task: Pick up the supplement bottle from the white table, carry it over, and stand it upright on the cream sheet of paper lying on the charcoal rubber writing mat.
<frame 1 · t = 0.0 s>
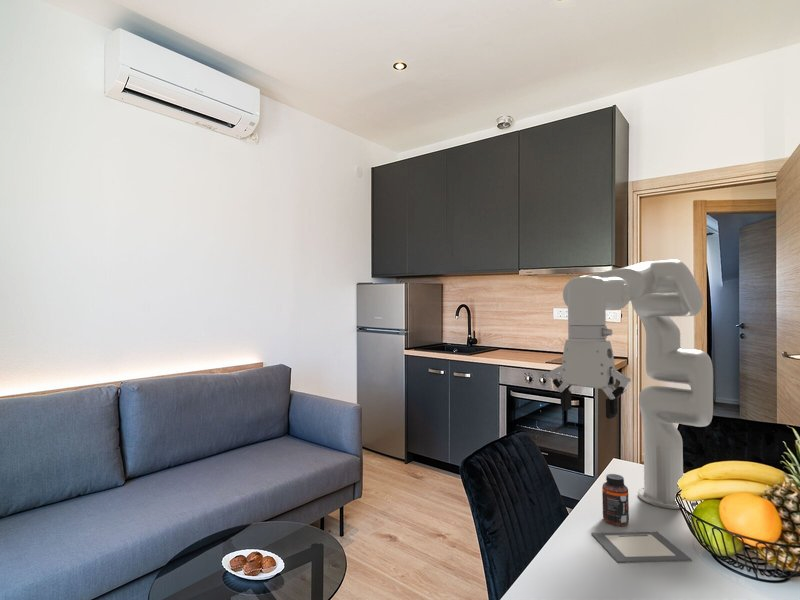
hand: (588, 413, 96), 31 cm above the table, tool pointing down, fingers open, 9 cm apart
writing mat: (638, 546, 101), on the table
supplement bottle: (615, 522, 113), on the table
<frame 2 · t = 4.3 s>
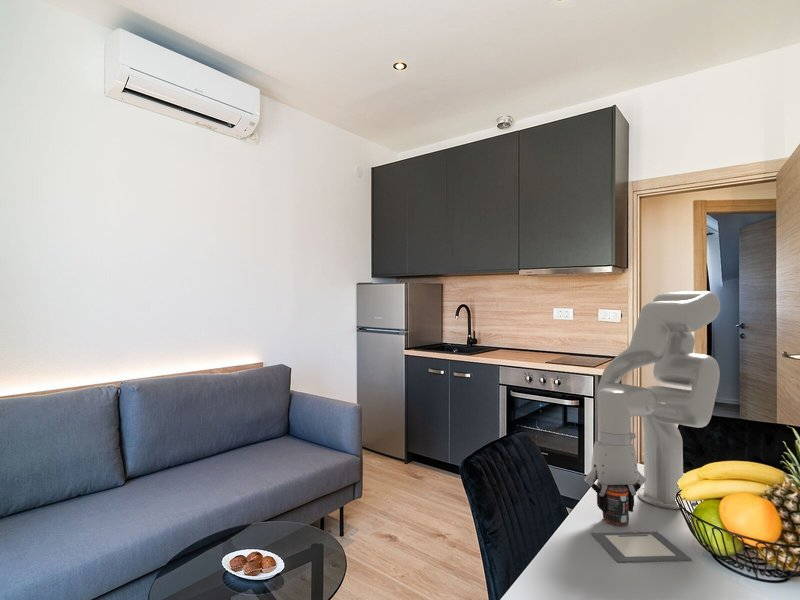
hand: (615, 509, 113), 3 cm above the table, tool pointing down, fingers closed on supplement bottle, 6 cm apart
supplement bottle: (615, 522, 113), on the table, touching gripper
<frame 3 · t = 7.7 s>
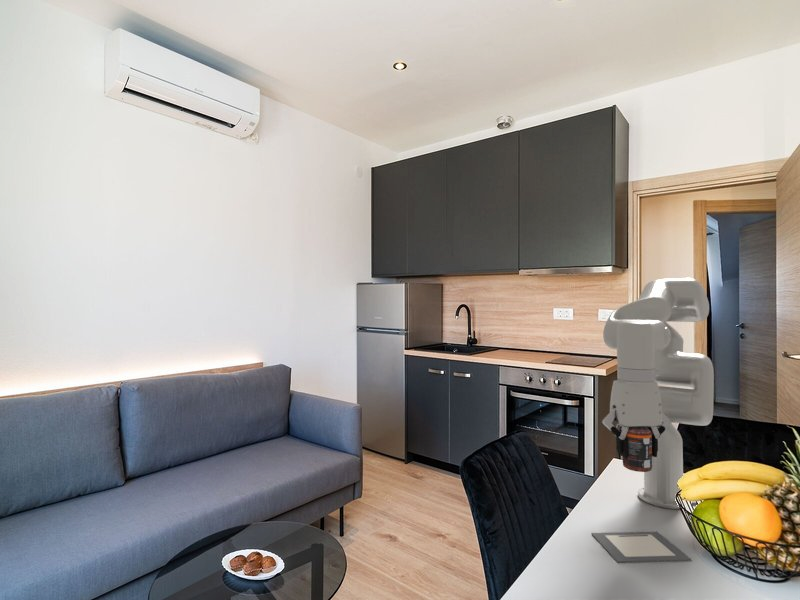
hand: (637, 454, 101), 21 cm above the table, tool pointing down, fingers closed on supplement bottle, 6 cm apart
supplement bottle: (637, 469, 101), point 17 cm above the table, touching gripper
when the fingers open (4 cm above the table, at t = 11.4 s): supplement bottle stays where it is, resting on writing mat.
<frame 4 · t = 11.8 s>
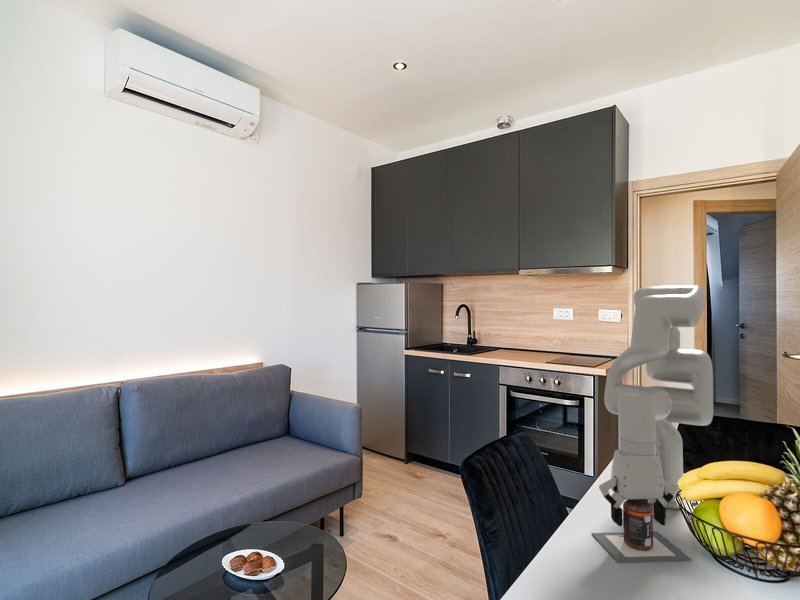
hand: (638, 523, 101), 5 cm above the table, tool pointing down, fingers open, 9 cm apart
supplement bottle: (638, 545, 101), resting on writing mat
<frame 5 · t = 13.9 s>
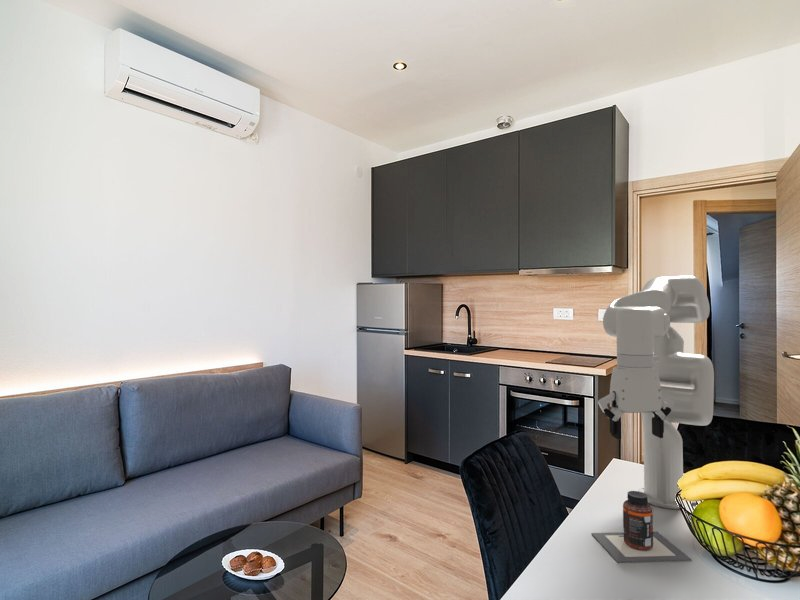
hand: (636, 436, 102), 24 cm above the table, tool pointing down, fingers open, 9 cm apart
nothing on the table moved.
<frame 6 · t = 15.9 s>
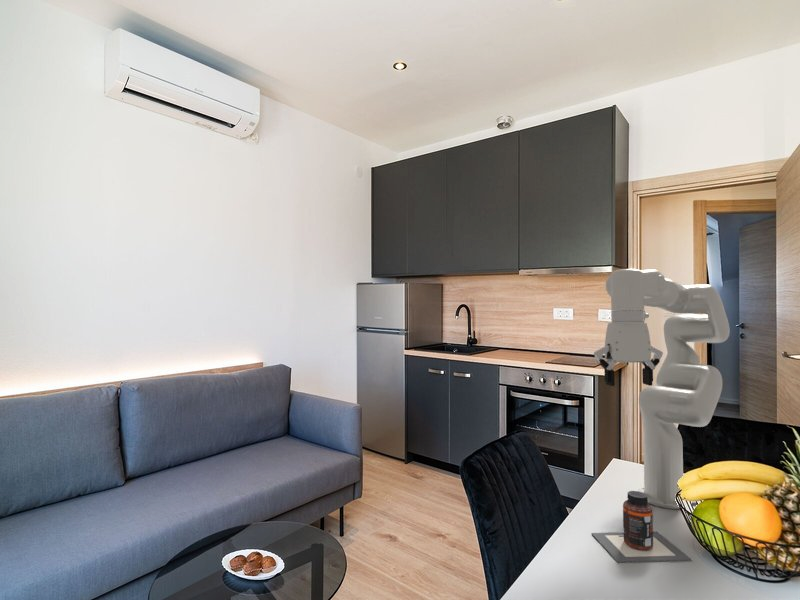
hand: (628, 384, 113), 34 cm above the table, tool pointing down, fingers open, 9 cm apart
nothing on the table moved.
at the end: supplement bottle inside the target area on the writing mat (0.2 cm from its centre), point 0.2 cm above the writing mat's base; supplement bottle tilted 0°; the gripper is holding nothing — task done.
